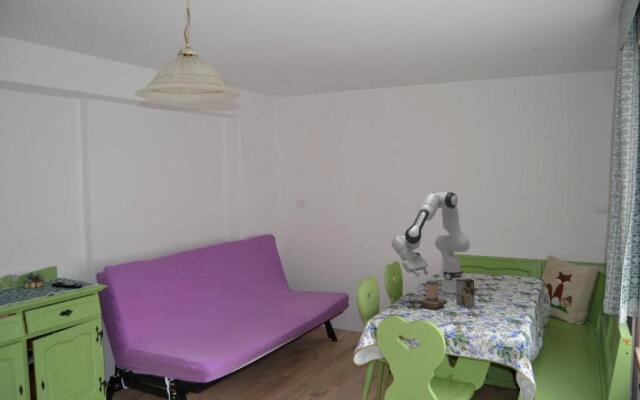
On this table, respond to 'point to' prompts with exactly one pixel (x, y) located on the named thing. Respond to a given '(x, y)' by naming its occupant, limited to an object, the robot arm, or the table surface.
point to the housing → (432, 290)
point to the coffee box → (465, 292)
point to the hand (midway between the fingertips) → (423, 275)
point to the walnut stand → (432, 304)
